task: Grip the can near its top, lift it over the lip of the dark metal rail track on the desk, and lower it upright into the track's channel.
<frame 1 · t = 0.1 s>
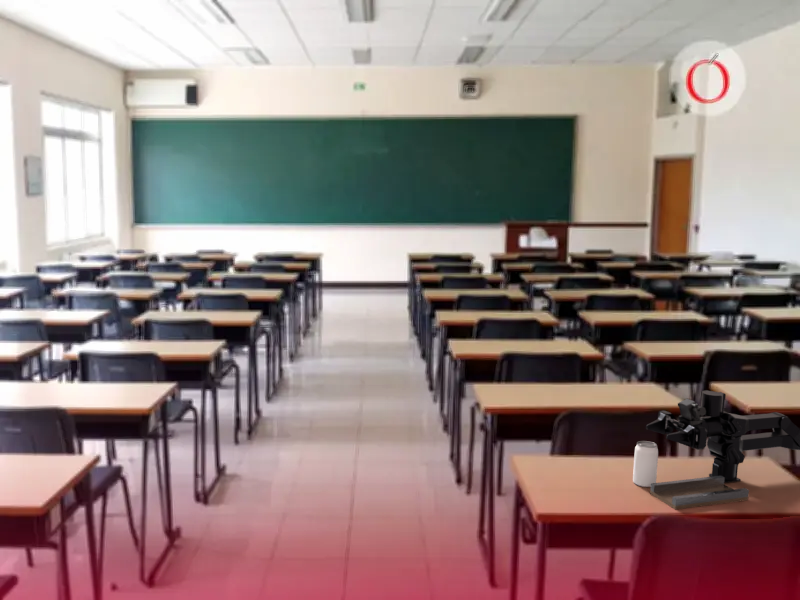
hand: (656, 431, 215), 17 cm above the table, tool horizontal, fingers open, 9 cm apart
track: (698, 496, 211), on the table
can: (644, 484, 220), on the table
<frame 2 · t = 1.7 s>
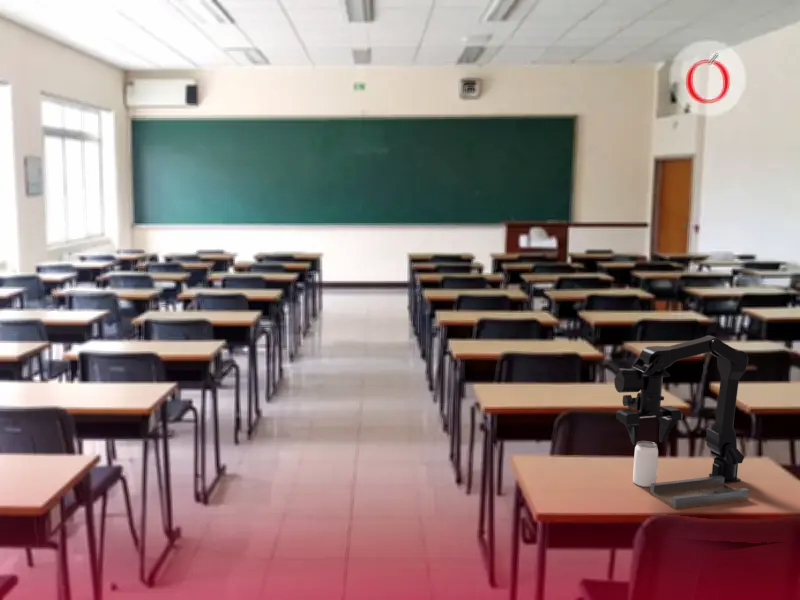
hand: (647, 443, 218), 12 cm above the table, tool pointing down, fingers open, 9 cm apart
nothing on the table moved.
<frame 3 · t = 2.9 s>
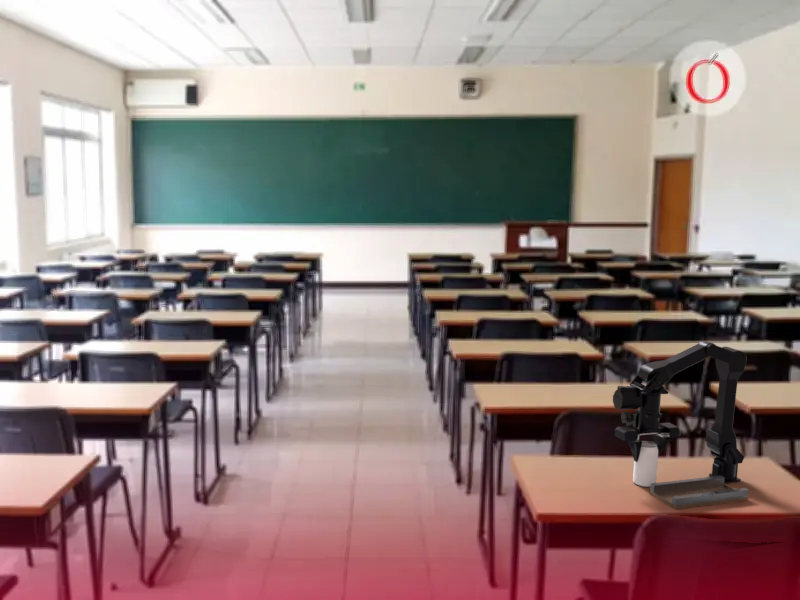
hand: (645, 460, 219), 7 cm above the table, tool pointing down, fingers closed on can, 6 cm apart
can: (644, 483, 220), on the table, touching gripper
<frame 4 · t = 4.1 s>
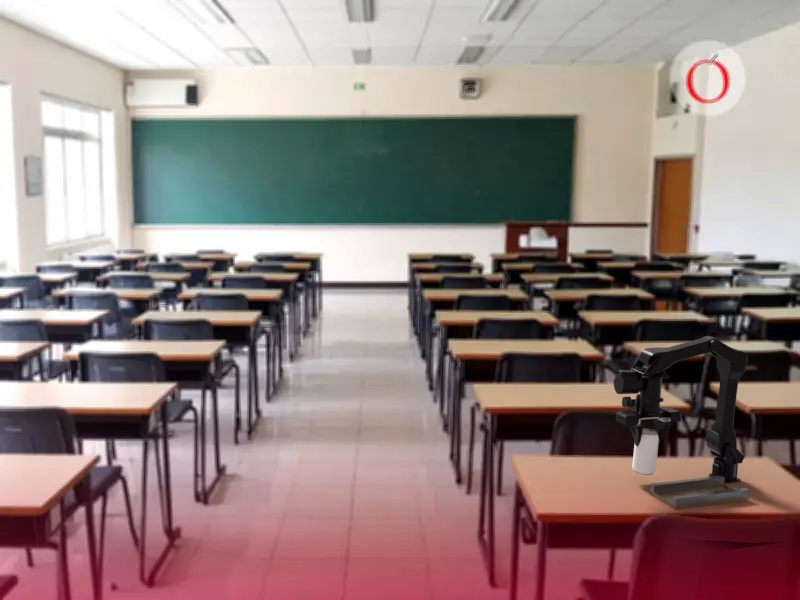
hand: (646, 445, 218), 12 cm above the table, tool pointing down, fingers closed on can, 6 cm apart
can: (643, 471, 219), point 4 cm above the table, touching gripper
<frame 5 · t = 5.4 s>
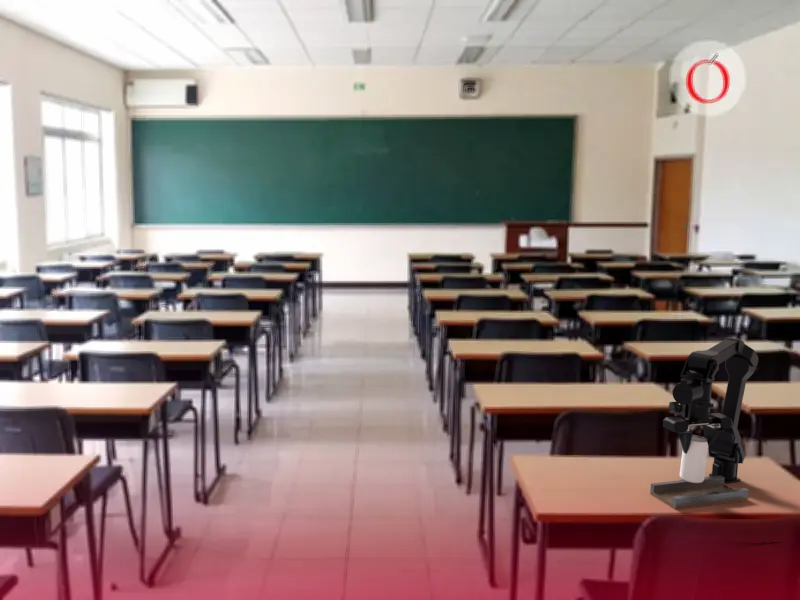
hand: (695, 452, 209), 13 cm above the table, tool pointing down, fingers closed on can, 6 cm apart
can: (691, 479, 210), point 5 cm above the table, touching gripper
when the fingers open (9 cm above the table, at t = 7.0 s): can stays where it is, resting on track.
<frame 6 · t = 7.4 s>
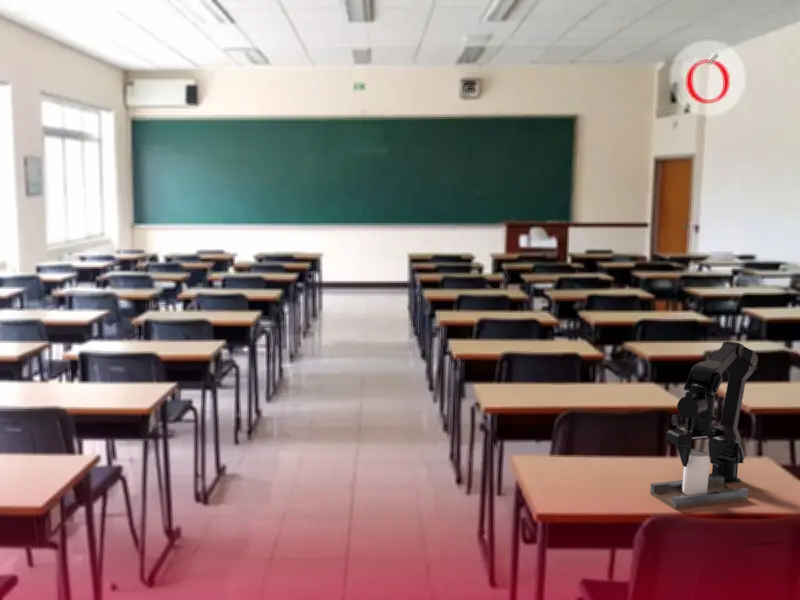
hand: (698, 464, 209), 9 cm above the table, tool pointing down, fingers open, 9 cm apart
can: (694, 494, 210), point 1 cm above the table, touching track
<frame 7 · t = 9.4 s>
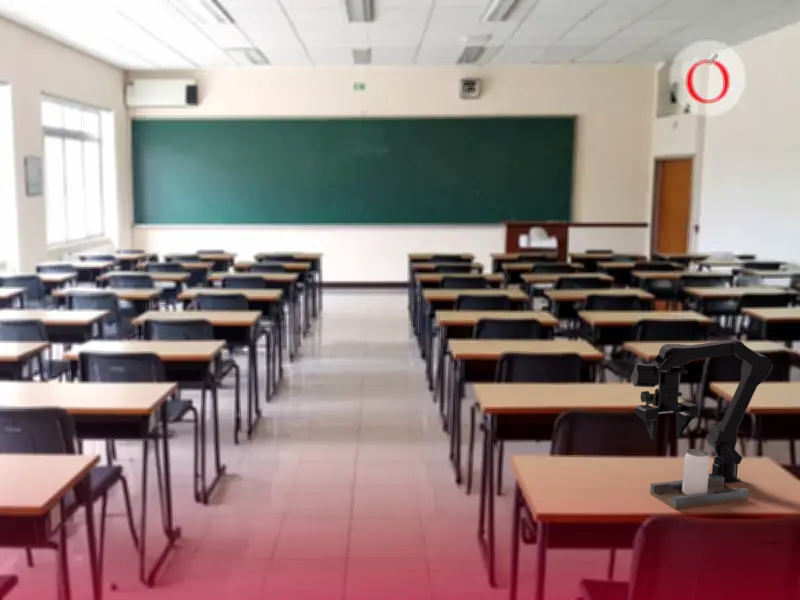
hand: (665, 438, 224), 12 cm above the table, tool pointing down, fingers open, 9 cm apart
nothing on the table moved.
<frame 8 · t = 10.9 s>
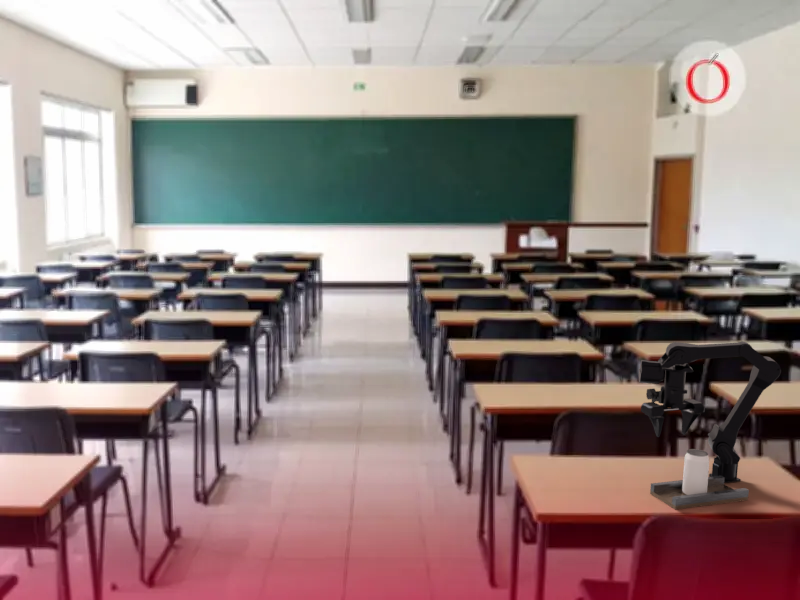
hand: (670, 435, 226), 12 cm above the table, tool pointing down, fingers open, 9 cm apart
nothing on the table moved.
at the end: can inside the target area on the track (1.3 cm from its centre), point 0.8 cm above the track's base; can tilted 0°; the gripper is holding nothing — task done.
